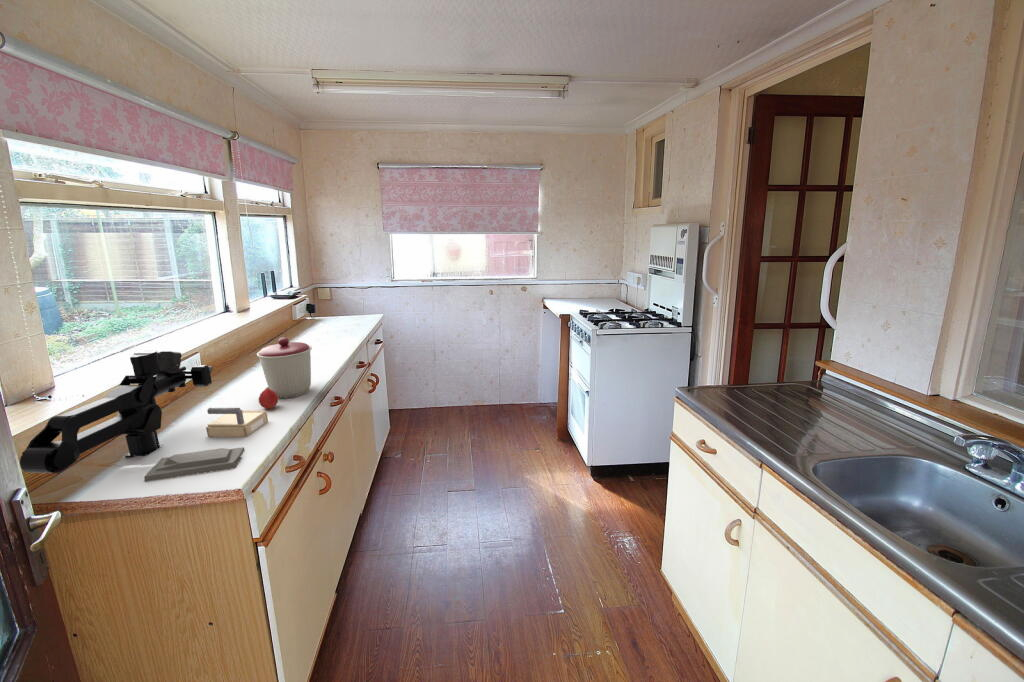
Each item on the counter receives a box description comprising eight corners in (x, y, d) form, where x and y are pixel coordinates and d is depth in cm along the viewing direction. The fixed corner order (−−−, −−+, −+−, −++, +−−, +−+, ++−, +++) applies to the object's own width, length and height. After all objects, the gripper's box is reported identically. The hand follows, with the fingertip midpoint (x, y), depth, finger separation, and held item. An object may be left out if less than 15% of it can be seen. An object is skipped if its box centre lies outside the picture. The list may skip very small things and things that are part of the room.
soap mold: (163, 464, 128) (160, 452, 128) (245, 453, 133) (243, 441, 132) (145, 483, 119) (142, 470, 118) (235, 470, 123) (232, 458, 123)
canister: (252, 400, 172) (242, 343, 167) (286, 384, 189) (278, 331, 184) (296, 403, 167) (287, 344, 162) (327, 386, 184) (320, 332, 179)
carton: (247, 438, 141) (245, 427, 140) (208, 438, 142) (206, 427, 141) (268, 423, 152) (266, 412, 151) (232, 422, 153) (230, 412, 152)
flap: (245, 426, 141) (242, 409, 139) (207, 426, 142) (204, 409, 140) (266, 412, 151) (263, 396, 149) (231, 412, 152) (228, 396, 151)
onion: (258, 414, 159) (254, 391, 157) (262, 407, 165) (258, 385, 163) (278, 411, 161) (274, 388, 159) (281, 405, 166) (277, 383, 164)
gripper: (185, 356, 137) (221, 343, 152) (124, 357, 139) (166, 343, 154) (192, 393, 140) (228, 376, 155) (132, 394, 142) (173, 377, 157)
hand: (198, 367), depth 155 cm, fingers open, 9 cm apart
